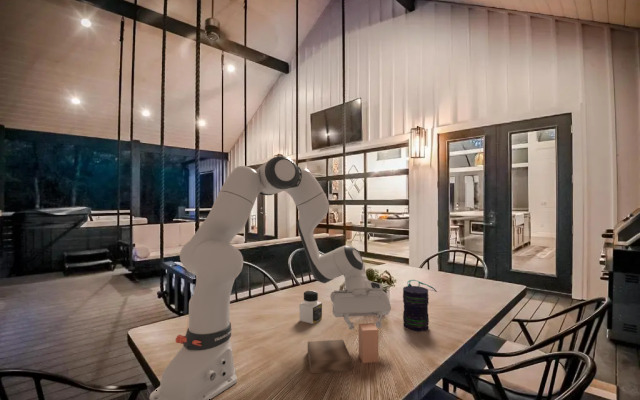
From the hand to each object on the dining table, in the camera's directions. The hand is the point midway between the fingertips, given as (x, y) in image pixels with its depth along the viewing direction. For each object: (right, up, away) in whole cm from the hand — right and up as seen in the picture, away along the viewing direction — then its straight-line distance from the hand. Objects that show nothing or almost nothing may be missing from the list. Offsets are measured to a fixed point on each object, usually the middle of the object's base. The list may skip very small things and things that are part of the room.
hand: (365, 327), depth 96 cm
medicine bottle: (-19, -9, +28) cm, 35 cm away
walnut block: (-13, -9, -5) cm, 16 cm away
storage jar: (+24, -9, +21) cm, 32 cm away
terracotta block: (0, -8, -3) cm, 9 cm away
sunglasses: (+42, -10, +69) cm, 81 cm away
